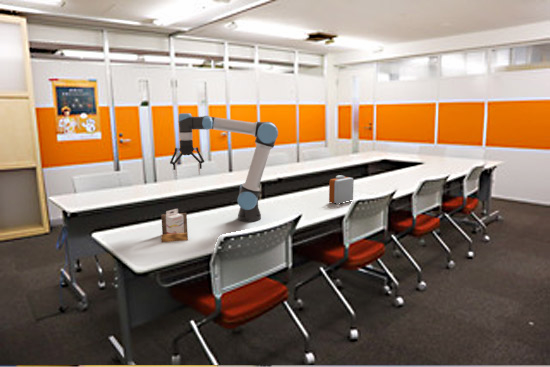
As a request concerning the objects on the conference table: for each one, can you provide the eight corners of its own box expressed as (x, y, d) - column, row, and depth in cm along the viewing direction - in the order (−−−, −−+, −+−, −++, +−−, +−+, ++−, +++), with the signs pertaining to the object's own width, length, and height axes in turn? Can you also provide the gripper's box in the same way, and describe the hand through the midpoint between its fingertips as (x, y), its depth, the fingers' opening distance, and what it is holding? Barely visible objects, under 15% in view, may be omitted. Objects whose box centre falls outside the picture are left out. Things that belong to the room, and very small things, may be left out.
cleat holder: (187, 232, 228) (186, 212, 226) (187, 240, 216) (186, 219, 213) (162, 234, 225) (161, 214, 223) (161, 242, 212) (160, 221, 210)
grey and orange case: (344, 199, 307) (345, 173, 303) (353, 201, 301) (354, 175, 297) (328, 203, 296) (329, 176, 292) (337, 205, 289) (338, 178, 285)
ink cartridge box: (172, 238, 215) (170, 212, 213) (166, 236, 219) (165, 211, 216) (184, 234, 222) (183, 209, 219) (179, 232, 225) (177, 208, 222)
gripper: (206, 138, 239) (208, 172, 244) (164, 139, 234) (166, 174, 238) (207, 139, 232) (209, 174, 236) (164, 140, 227) (166, 176, 231)
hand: (187, 174), depth 237 cm, fingers open, 13 cm apart
